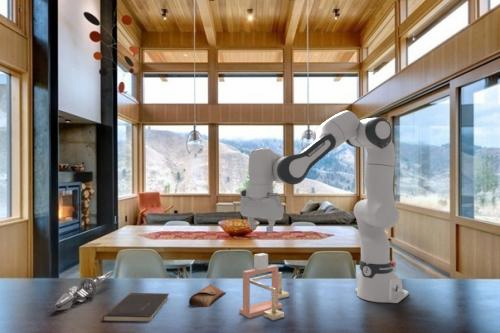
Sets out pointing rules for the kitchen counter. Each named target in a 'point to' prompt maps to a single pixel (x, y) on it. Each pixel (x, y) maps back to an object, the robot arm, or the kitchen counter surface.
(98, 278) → the spaceship
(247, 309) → the pink frame with handle
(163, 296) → the hardcover book
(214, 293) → the sunglasses case
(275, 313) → the bent towel rail
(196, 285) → the kitchen counter surface
